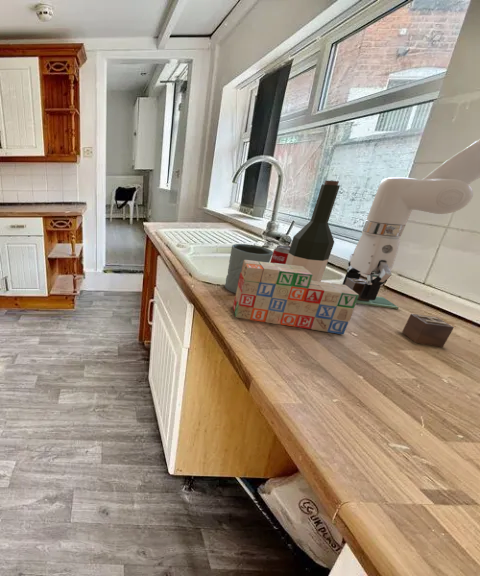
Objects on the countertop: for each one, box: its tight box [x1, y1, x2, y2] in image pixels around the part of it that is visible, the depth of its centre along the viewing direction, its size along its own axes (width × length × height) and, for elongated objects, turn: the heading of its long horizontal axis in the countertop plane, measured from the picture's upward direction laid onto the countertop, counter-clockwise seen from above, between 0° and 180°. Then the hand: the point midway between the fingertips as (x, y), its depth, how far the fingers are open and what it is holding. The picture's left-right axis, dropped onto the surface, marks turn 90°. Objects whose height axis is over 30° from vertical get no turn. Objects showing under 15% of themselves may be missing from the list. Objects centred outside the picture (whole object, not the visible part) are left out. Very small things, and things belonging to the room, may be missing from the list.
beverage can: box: [269, 245, 291, 264], centre depth 87 cm, size 6×6×12 cm
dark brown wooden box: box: [401, 313, 454, 348], centre depth 64 cm, size 5×5×5 cm
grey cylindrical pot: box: [224, 243, 273, 294], centre depth 84 cm, size 10×10×12 cm
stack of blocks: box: [232, 260, 359, 335], centre depth 67 cm, size 21×6×12 cm, turn 73°
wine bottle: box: [286, 180, 341, 282], centre depth 74 cm, size 8×8×30 cm
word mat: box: [356, 295, 399, 310], centre depth 83 cm, size 11×7×1 cm, turn 75°
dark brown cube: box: [344, 278, 369, 301], centre depth 83 cm, size 5×5×5 cm
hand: (357, 292), depth 83 cm, fingers open, 9 cm apart
